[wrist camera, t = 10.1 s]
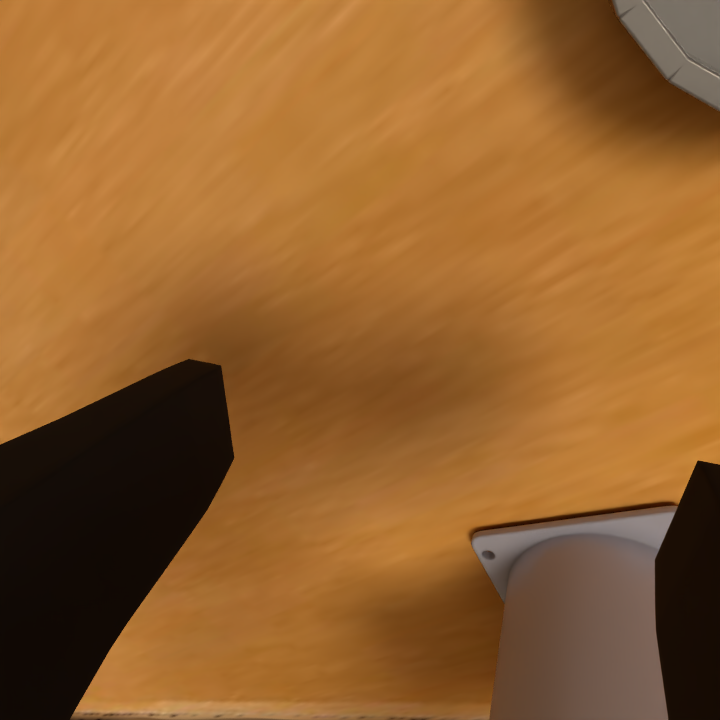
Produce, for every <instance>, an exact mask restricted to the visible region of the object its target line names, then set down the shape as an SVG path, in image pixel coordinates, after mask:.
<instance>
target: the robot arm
mask: <svg viewBox="0 0 720 720" xmlns="http://www.w3.org/2000/svg"><path fill="white" fill-rule="evenodd" d="M233 460H234V452H233V445H232V438H231V431H230V424H229V417H228V410H227V403H226V396H225V389H224V382H223V375H222V368H221V365H216V364H211V363H206V362H201V361H196V360H191V359H188V360H185V361H183V362H180V363H177V364H175V365H173V366H170V367H168V368H166V369H164V370H161V371H159V372H157V373H155V374H153V375H151V376H148V377H146V378H144V379H142V380H140V381H138V382H136V383H134V384H132V385H129V386H127V387H125V388H123V389H121V390H119V391H117V392H115V393H113V394H111V395H109V396H107V397H104V398H102V399H100V400H98V401H96V402H94V403H92V404H90V405H88V406H86V407H84V408H81V409H79V410H77V411H75V412H73V413H71V414H69V415H67V416H65V417H62V418H60V419H58V420H56V421H53V422H51V423H49V424H47V425H44V426H42V427H40V428H37V429H35V430H33V431H31V432H28V433H26V434H24V435H21V436H19V437H17V438H15V439H12V440H10V441H8V442H5V443H3V444H1V445H0V720H70V718H71V716H72V714H73V713H74V711H75V709H76V707H77V706H78V704H79V702H80V700H81V699H82V697H83V695H84V693H85V692H86V690H87V688H88V687H89V685H90V683H91V681H92V680H93V678H94V676H95V674H96V673H97V671H98V669H99V667H100V666H101V664H102V662H103V661H104V659H105V657H106V655H107V654H108V652H109V650H110V649H111V647H112V646H113V644H114V643H115V641H116V639H117V638H118V636H119V635H120V633H121V632H122V630H123V629H124V627H125V626H126V624H127V623H128V621H129V620H130V618H131V617H132V616H133V614H134V613H135V611H136V610H137V609H138V607H139V606H140V604H141V603H142V602H143V600H144V599H145V597H146V596H147V595H148V593H149V592H150V590H151V589H152V588H153V586H154V585H155V583H156V582H157V581H158V579H159V578H160V576H161V575H162V574H163V572H164V571H165V569H166V568H167V567H168V565H169V564H170V562H171V561H172V560H173V558H174V557H175V555H176V554H177V553H178V551H179V550H180V548H181V547H182V545H183V544H184V543H185V541H186V540H187V538H188V537H189V535H190V534H191V533H192V531H193V530H194V528H195V527H196V525H197V524H198V523H199V521H200V520H201V518H202V517H203V515H204V514H205V512H206V511H207V509H208V508H209V506H210V504H211V502H212V500H213V499H214V497H215V495H216V493H217V491H218V489H219V488H220V486H221V484H222V482H223V480H224V478H225V476H226V474H227V472H228V470H229V468H230V466H231V464H232V462H233ZM471 544H472V547H473V549H474V551H475V553H476V554H477V556H478V558H479V560H480V561H481V563H482V565H483V567H484V569H485V570H486V572H487V574H488V576H489V577H490V579H491V581H492V583H493V584H494V586H495V588H496V590H497V592H498V593H499V595H500V597H501V599H502V600H503V602H504V604H505V606H504V613H503V621H502V628H501V636H500V643H499V651H498V658H497V666H496V673H495V680H494V688H493V695H492V703H491V710H490V718H489V720H720V465H718V464H713V463H708V462H703V461H697V463H696V466H695V468H694V470H693V473H692V475H691V477H690V480H689V482H688V484H687V487H686V489H685V491H684V493H683V496H682V498H681V500H680V503H679V505H678V506H662V507H655V508H647V509H640V510H633V511H625V512H618V513H610V514H603V515H595V516H588V517H581V518H573V519H566V520H558V521H551V522H543V523H536V524H528V525H521V526H514V527H506V528H499V529H491V530H484V531H478V532H476V533H475V534H473V537H472V542H471ZM488 551H491V552H488Z"/></svg>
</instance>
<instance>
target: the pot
mask: <svg viewBox="0 0 720 720" xmlns="http://www.w3.org/2000/svg"><path fill="white" fill-rule="evenodd" d="M608 1H609V4H610V7H611V9H612V10H613V13H614V14H615V16H616V17H617V19H618V20H619V21H620V23H621V24H622V25H623V26H624V28H625V29H626V30H627V32H628V33H629V34H630V35H631V37H632V38H633V39H634V40H635V42H636V43H637V44H638V46H639V47H640V48H641V49H642V51H643V52H644V53H645V55H646V56H647V57H648V58H649V60H650V61H651V62H652V63H653V65H654V66H655V67H656V69H657V70H658V71H659V72H660V74H661V75H662V76H663V77H664V79H666V80H667V81H668V82H669V83H670V84H672V85H673V86H675V87H677V88H679V89H680V90H682V91H684V92H686V93H687V94H689V95H691V96H693V97H694V98H696V99H698V100H700V101H701V102H703V103H705V104H707V105H708V106H710V107H712V108H714V109H715V110H717V111H719V112H720V0H608Z"/></svg>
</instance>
